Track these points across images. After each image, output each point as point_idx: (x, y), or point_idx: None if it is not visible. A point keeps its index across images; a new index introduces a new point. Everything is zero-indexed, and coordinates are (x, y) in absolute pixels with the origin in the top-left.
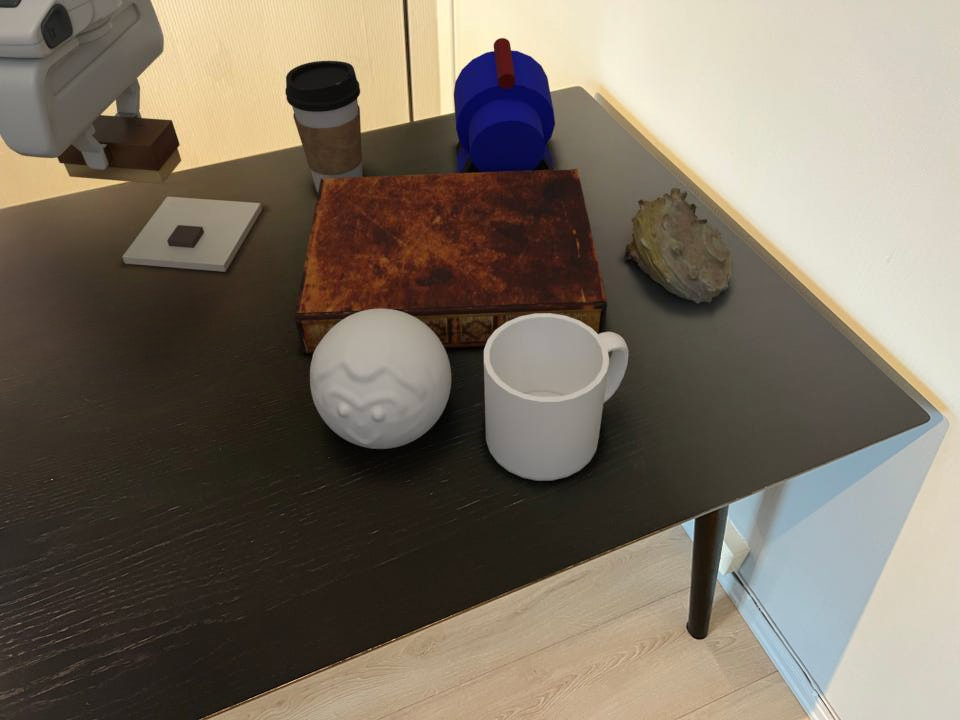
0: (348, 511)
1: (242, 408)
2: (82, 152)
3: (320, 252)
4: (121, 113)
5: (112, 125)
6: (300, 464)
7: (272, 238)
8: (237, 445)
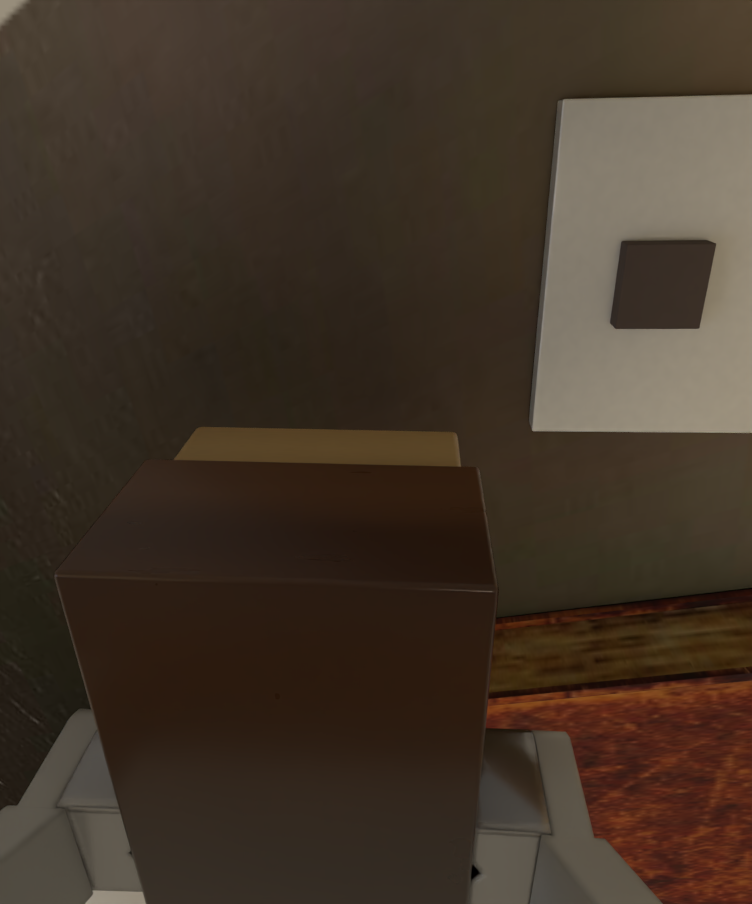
0: (12, 753)
1: None
2: (28, 794)
3: (487, 723)
4: (523, 856)
5: (340, 872)
6: (58, 688)
7: (676, 487)
8: (54, 599)
